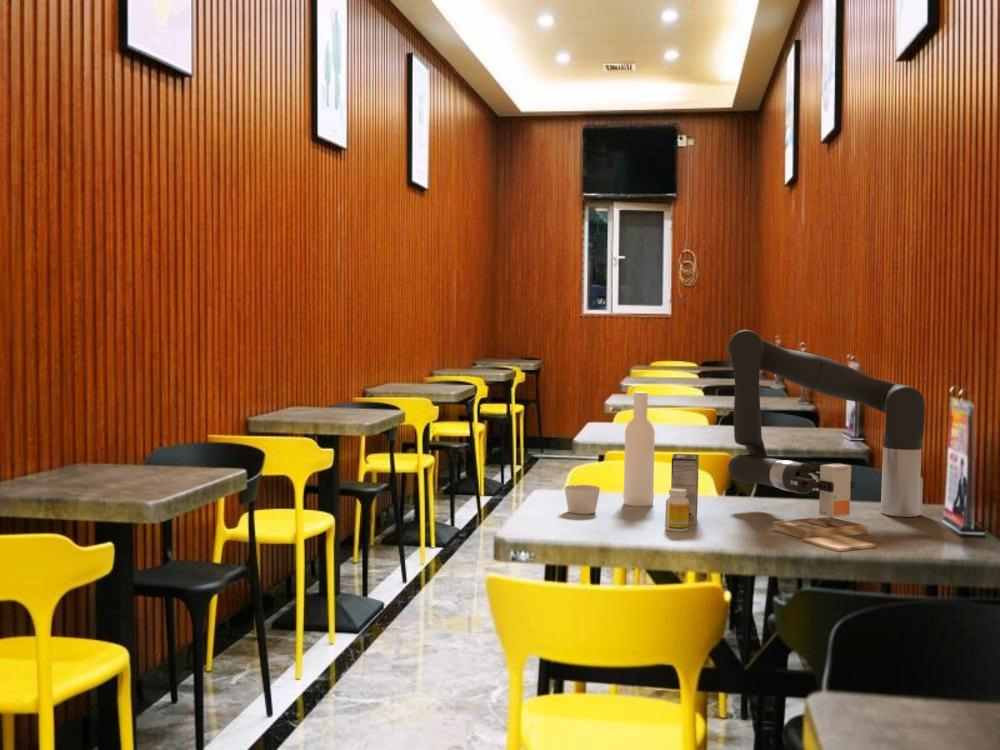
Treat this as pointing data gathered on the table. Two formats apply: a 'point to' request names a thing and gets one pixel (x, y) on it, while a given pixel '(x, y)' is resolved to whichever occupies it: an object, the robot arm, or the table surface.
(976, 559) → the table surface
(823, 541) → the coaster
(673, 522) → the supplement bottle
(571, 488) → the beige cup
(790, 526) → the light wood flat frame
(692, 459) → the coffee box
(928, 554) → the table surface
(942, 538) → the table surface
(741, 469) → the robot arm
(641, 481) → the bottle
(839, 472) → the skincare box
